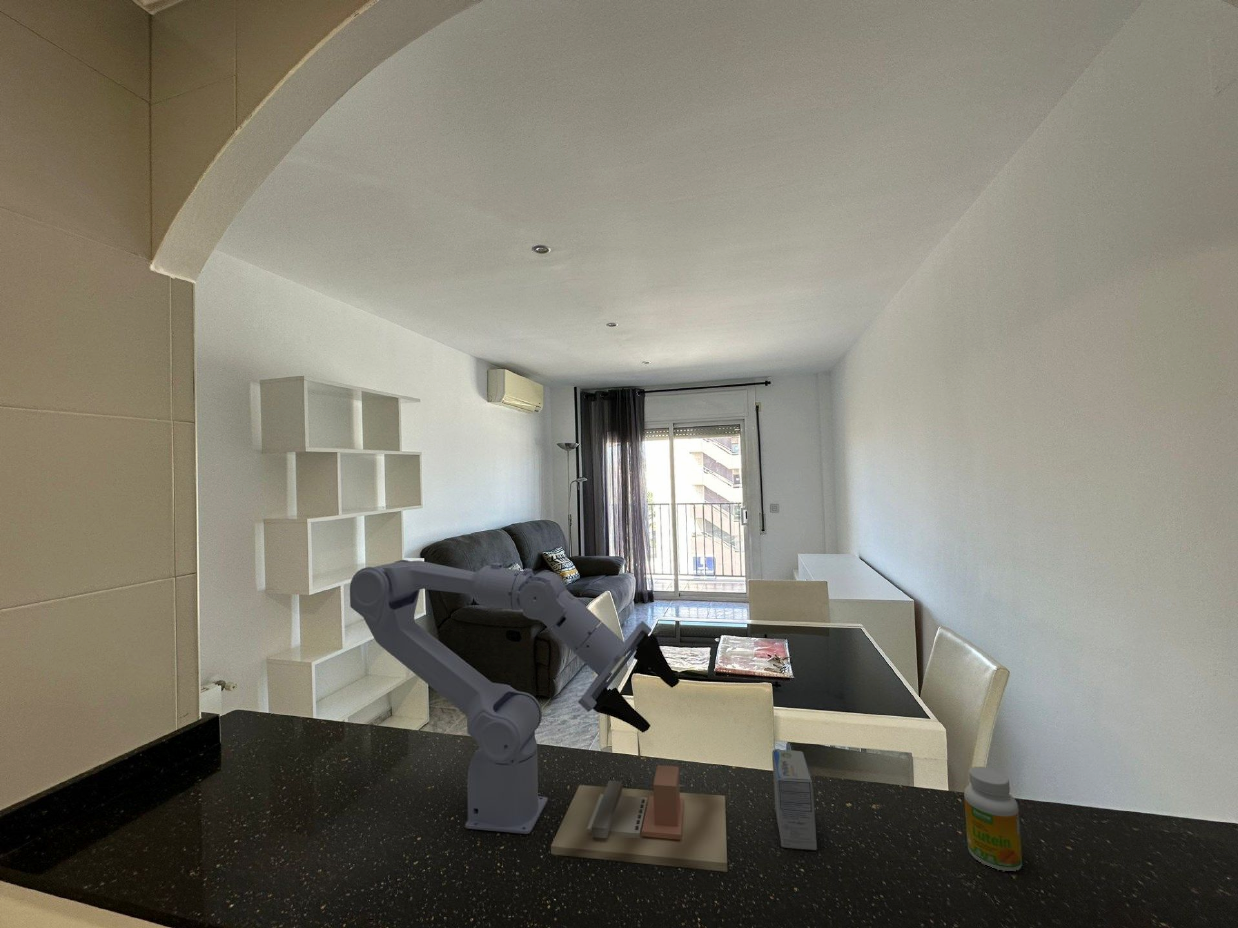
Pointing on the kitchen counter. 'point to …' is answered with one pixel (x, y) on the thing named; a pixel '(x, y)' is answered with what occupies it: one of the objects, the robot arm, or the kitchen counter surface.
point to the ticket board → (615, 825)
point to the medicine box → (794, 800)
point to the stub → (664, 805)
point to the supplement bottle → (992, 820)
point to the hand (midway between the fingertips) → (661, 705)
